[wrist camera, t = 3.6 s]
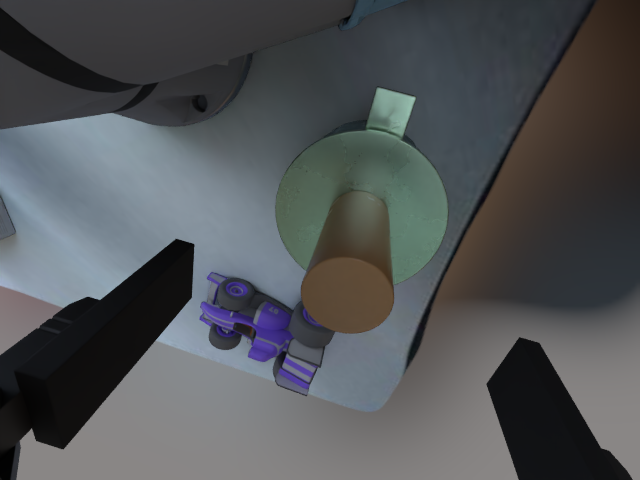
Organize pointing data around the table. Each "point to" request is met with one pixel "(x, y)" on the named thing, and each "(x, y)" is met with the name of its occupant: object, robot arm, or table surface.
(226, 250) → the table surface
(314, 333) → the toy race car
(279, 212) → the green disc with rod
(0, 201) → the small box
